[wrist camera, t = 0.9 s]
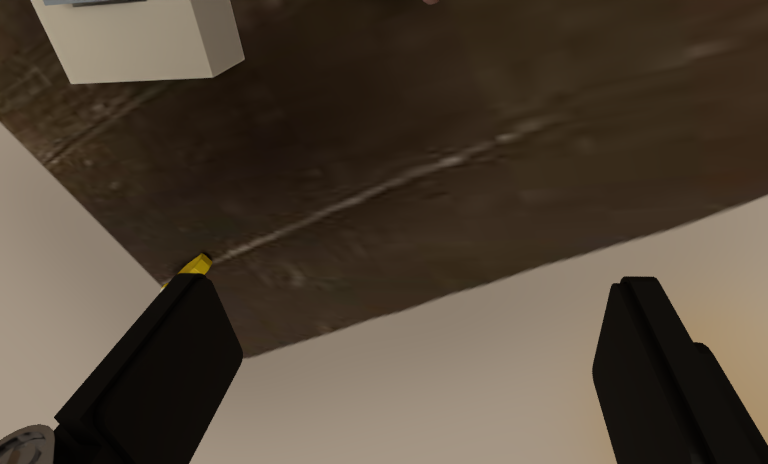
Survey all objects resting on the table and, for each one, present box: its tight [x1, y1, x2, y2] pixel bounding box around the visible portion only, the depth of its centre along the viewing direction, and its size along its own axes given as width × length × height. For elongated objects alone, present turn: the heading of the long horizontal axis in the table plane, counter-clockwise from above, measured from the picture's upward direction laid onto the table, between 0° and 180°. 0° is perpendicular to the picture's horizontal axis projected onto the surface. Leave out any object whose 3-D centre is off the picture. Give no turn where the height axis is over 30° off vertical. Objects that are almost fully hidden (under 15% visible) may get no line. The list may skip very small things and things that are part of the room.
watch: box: [160, 253, 212, 292], centre depth 47 cm, size 6×3×6 cm, turn 129°
